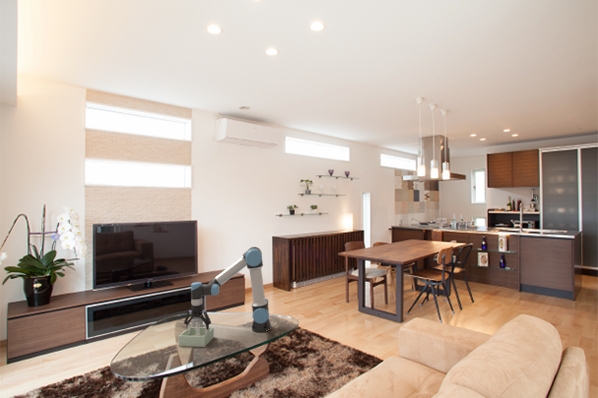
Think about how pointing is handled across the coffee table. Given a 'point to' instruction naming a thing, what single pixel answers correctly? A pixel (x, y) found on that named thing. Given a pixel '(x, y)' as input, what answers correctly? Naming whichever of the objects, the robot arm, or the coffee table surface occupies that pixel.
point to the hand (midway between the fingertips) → (197, 333)
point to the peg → (197, 329)
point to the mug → (197, 321)
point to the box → (196, 337)
